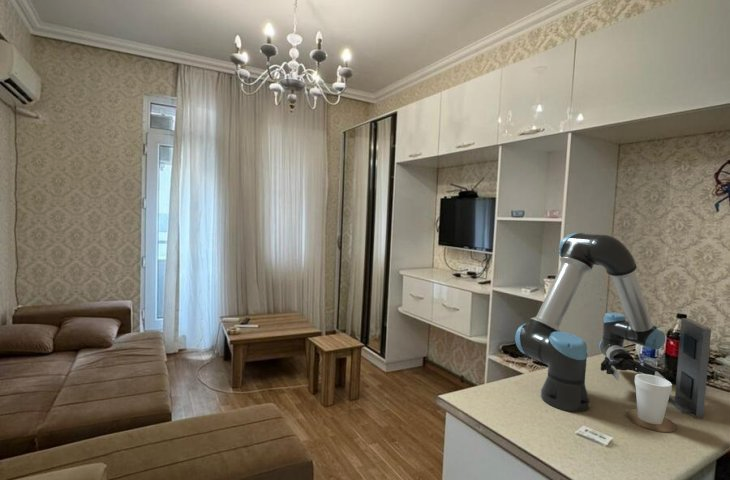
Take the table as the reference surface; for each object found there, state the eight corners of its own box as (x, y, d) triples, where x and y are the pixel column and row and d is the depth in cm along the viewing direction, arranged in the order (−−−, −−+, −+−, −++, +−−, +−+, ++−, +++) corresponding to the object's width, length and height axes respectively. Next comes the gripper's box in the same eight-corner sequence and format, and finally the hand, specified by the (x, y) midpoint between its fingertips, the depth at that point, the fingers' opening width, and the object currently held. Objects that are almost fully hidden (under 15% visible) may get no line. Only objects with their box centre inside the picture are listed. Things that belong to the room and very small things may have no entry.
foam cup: (631, 408, 128) (634, 371, 127) (665, 416, 123) (668, 378, 122) (633, 421, 120) (636, 381, 119) (670, 430, 115) (674, 389, 114)
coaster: (634, 427, 117) (634, 425, 117) (619, 407, 130) (619, 406, 130) (684, 435, 113) (684, 434, 113) (664, 414, 126) (664, 412, 126)
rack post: (685, 415, 125) (692, 327, 123) (665, 396, 139) (671, 317, 137) (703, 418, 124) (711, 329, 122) (681, 399, 137) (688, 318, 135)
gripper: (656, 371, 147) (683, 396, 127) (584, 362, 154) (598, 384, 134) (657, 353, 146) (685, 374, 126) (585, 344, 154) (600, 363, 134)
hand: (640, 379), depth 130 cm, fingers open, 13 cm apart
